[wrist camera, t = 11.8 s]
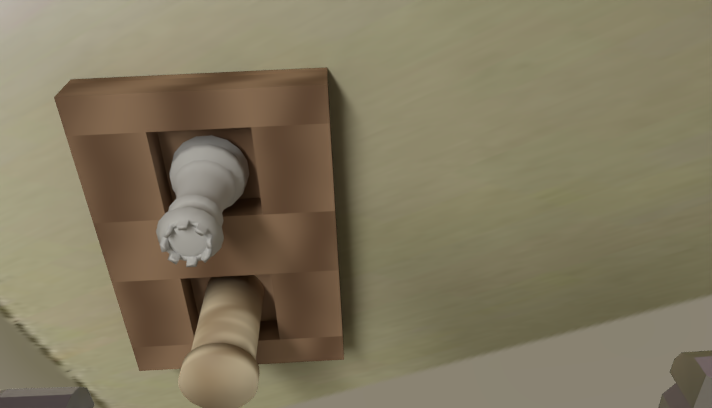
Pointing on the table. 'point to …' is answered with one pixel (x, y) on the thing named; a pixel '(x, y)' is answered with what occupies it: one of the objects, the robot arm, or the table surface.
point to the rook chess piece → (201, 198)
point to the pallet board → (240, 226)
